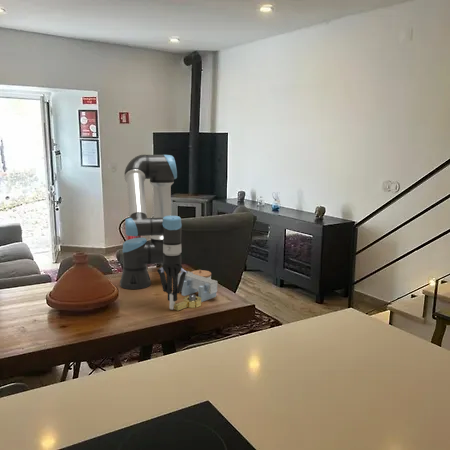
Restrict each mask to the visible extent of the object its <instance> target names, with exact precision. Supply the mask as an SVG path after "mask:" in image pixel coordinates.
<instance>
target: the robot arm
mask: <svg viewBox="0 0 450 450" xmlns="http://www.w3.org/2000/svg"><path fill="white" fill-rule="evenodd" d="M177 178H178V170H177V164H176V160H175V157H174V156H173V155H171V154H139V155H137V156H135V157H133V158H132V159H130V161H129V162H128V163H127V165H126V166H125V170H124V181H125V182H126V184H127V187H126V188H127V198H128V199H127V202H128V215H129V216H128V217H129V218H125V221H124V222H125V223H124V224H125V226H124V228H125V236H128V237H134V238H130V239H127V240H125V241H124V242H123V244H122V250H121V251H122V268H123V269H122V274H121V277H120V280H119V286H120V288H123V289H126V290H141V289H146V288H148V287H150V286H151V284H152V283H151V282H152V280H151V277H150V274H149V272H148V271H149V270H148V267H147V266H148V265H154V264H155V265H157V264H162V266H161V267H159V268H158V269H157V270H156V271H157V274H158V275H159V277H160V278H159V279H160V282H161V283H160V284H161V287H162V292H164V293H166V295H167V301H168V302H169V310H174V304H176V302H177V300H178V294H180V293H182V287H183V283H184V279H185V275H186V274H187V271H188V270H185V269H184V268H183V266H182V254H181V253H182V226H183V224H182V218H181V217H180V216H178V215H172V203H171V202H172V201H171V199H172V193H171V192H172V191H171V190H172V189H171V187H172V185H173V184H174V183H175V181H174V180H176V179H177ZM146 180H149V184H151V185H152V191H153V192H152V201H153V210H152V211H153V217H148V213H147V204H146V191H145V181H146ZM143 236H146V237H147V236H150V240H147V238H146V237H143ZM179 273H181V276H180V280H179V285H178V274H179Z"/></svg>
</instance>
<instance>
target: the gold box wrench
mask: <svg viewBox="0 0 450 450" xmlns="http://www.w3.org/2000/svg"><path fill="white" fill-rule="evenodd" d="M199 307H202V302H201V297H198V296H197V295H196V300H195V301H190V300H189V295H186V296H183V300H182V301H180V302H178V303H175V304H174V309H173V310H174V311H180V310H184V309H186V308H188V309H196V308H199Z"/></svg>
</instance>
